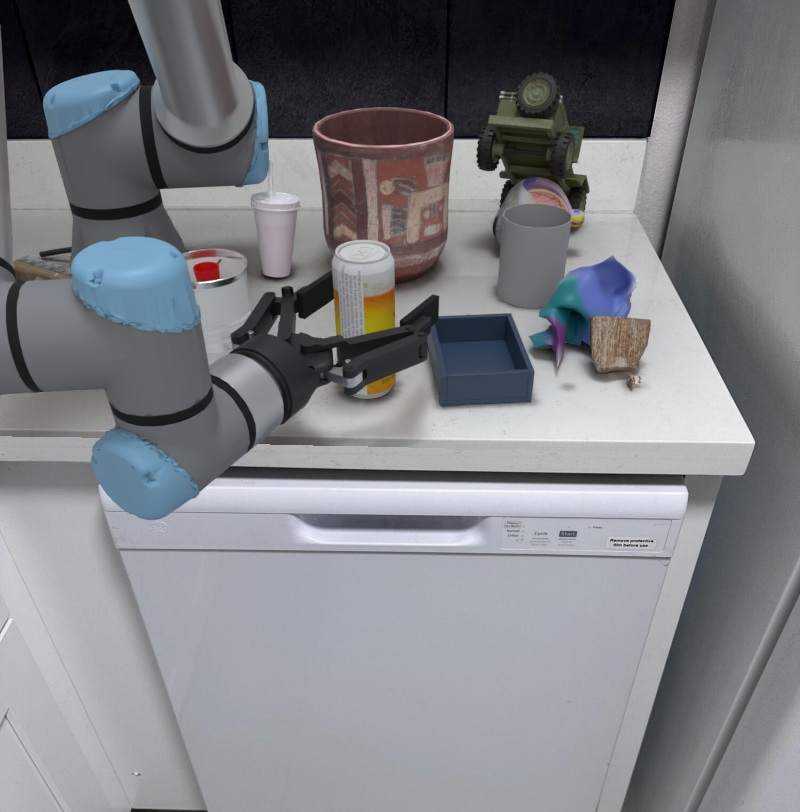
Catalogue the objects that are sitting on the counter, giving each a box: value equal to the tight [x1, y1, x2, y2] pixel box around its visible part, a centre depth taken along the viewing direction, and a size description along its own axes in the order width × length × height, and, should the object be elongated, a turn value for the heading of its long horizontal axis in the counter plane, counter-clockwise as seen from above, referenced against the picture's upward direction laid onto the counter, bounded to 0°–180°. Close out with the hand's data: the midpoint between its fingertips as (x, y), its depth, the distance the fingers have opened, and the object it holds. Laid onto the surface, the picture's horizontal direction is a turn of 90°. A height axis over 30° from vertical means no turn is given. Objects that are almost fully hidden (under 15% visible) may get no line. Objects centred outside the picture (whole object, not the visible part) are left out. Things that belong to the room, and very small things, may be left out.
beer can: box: [331, 240, 397, 400], centre depth 80 cm, size 6×6×15 cm
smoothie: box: [250, 159, 302, 278], centre depth 103 cm, size 6×6×14 cm
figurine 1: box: [528, 255, 639, 368], centre depth 90 cm, size 13×12×9 cm
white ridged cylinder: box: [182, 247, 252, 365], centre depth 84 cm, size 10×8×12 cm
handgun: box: [14, 255, 72, 281], centre depth 100 cm, size 3×19×12 cm
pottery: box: [311, 106, 455, 284], centre depth 103 cm, size 18×18×18 cm
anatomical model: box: [491, 177, 586, 244], centre depth 109 cm, size 10×12×10 cm
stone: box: [589, 316, 652, 374], centre depth 86 cm, size 7×6×5 cm
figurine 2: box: [626, 372, 642, 389], centre depth 84 cm, size 8×2×1 cm, turn 94°
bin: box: [427, 312, 536, 407], centre depth 86 cm, size 10×13×4 cm
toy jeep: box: [475, 71, 591, 212], centre depth 110 cm, size 12×25×11 cm
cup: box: [496, 203, 572, 309], centre depth 99 cm, size 8×8×10 cm
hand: (384, 294), depth 82 cm, fingers open, 11 cm apart
